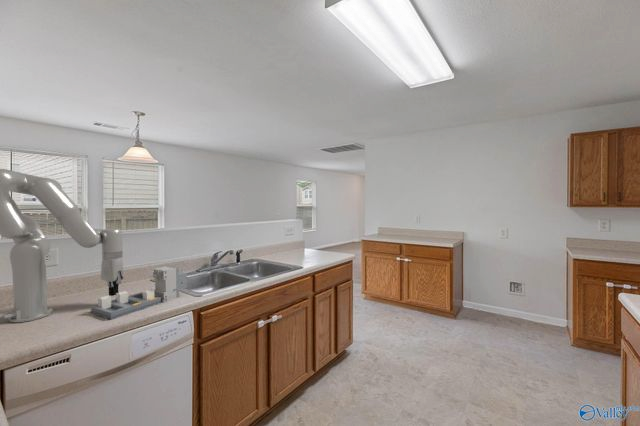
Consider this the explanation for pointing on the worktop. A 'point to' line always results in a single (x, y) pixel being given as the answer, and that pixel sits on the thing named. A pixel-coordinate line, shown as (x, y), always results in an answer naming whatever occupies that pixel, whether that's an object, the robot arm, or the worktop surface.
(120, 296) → the tab
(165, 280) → the circuit breaker
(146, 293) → the tab
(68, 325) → the worktop surface
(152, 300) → the switch bank
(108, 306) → the tab
